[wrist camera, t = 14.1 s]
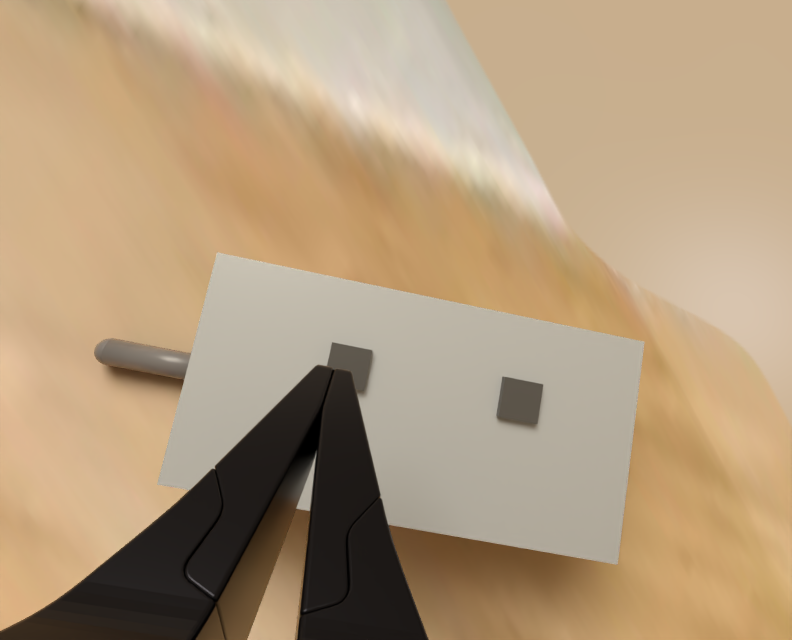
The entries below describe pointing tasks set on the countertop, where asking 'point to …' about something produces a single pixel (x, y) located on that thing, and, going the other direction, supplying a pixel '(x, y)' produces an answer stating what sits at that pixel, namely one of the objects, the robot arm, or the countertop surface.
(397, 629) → the robot arm
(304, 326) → the cover
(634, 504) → the countertop surface
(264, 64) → the countertop surface
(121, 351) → the hinged lid box
